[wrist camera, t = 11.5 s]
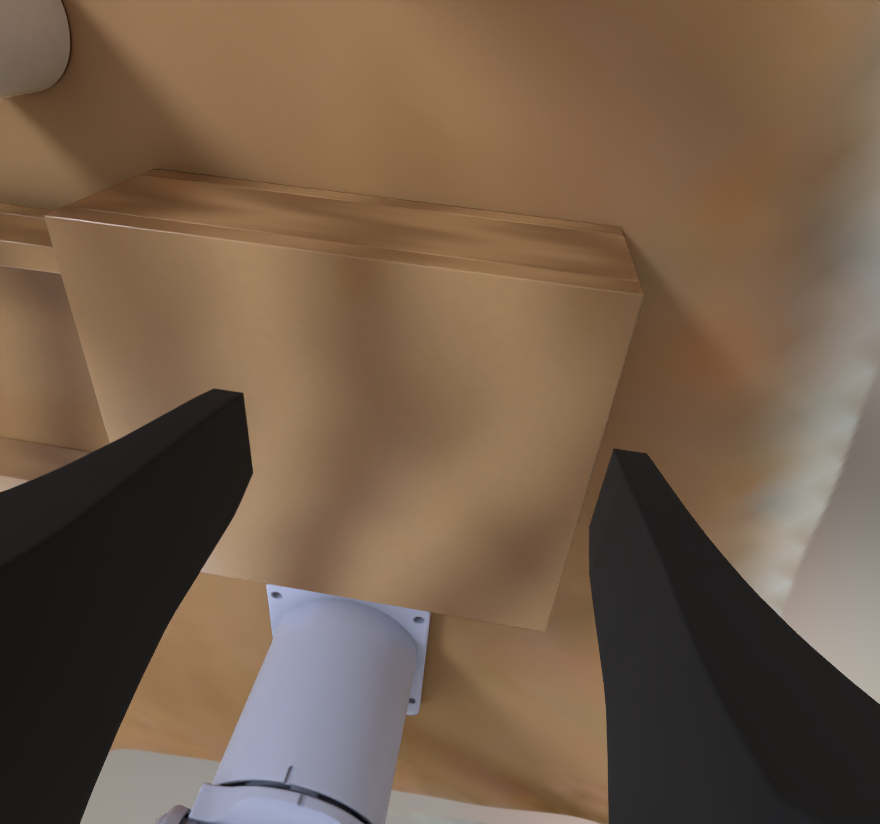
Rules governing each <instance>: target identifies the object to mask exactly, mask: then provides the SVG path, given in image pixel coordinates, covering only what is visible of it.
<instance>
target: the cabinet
mask: <svg viewBox="0 0 880 824" xmlns="http://www.w3.org/2000/svg"><path fill="white" fill-rule="evenodd" d="M44 218H45V221H46V225H47V228H48V232H49V235H50V238H51V242H52V245H53V249H54V252H55V256H56V259H57V263H58V266H59V269H60V273H61V276H62V280H63V283H64V287H65V290H66V294H67V297H68V300H69V304H70V307H71V311H72V314H73V318H74V321H75V325H76V328H77V331H78V335H79V338H80V342H81V345H82V349H83V352H84V356H85V359H86V362H87V366H88V369H89V373H90V376H91V380H92V383H93V387H94V390H95V394H96V397H97V400H98V404H99V407H100V411H101V414H102V418H103V421H104V425H105V428H106V431H107V435H108V438H109V442H110V443H112V442H114V441H116V440H118V439H120V438H122V437H123V436H125V435H127V434H129V433H131V432H133V431H135V430H136V429H138V428H140V427H142V426H144V425H146V424H147V423H149V422H151V421H153V420H155V419H157V418H158V417H160V416H162V415H164V414H166V413H167V412H169V411H171V410H173V409H175V408H177V407H178V406H180V405H182V404H184V403H186V402H188V401H189V400H191V399H193V398H195V397H197V396H199V395H201V394H203V393H205V392H207V391H209V390H211V389H213V388H215V389H221V390H228V391H235V392H241V393H244V401H245V410H246V418H247V426H248V434H249V442H250V450H251V458H252V466H253V475H252V477H251V480H250V482H249V484H248V487H247V489H246V491H245V494H244V496H243V498H242V501H241V503H240V505H239V507H238V509H237V511H236V514H235V516H234V517H233V519H232V521H231V522H230V524H229V526H228V527H227V529H226V531H225V532H224V534H223V536H222V537H221V539H220V541H219V542H218V544H217V545H216V547H215V549H214V550H213V552H212V554H211V555H210V557H209V558H208V560H207V562H206V563H205V565H204V566H203V568H202V570H201V571H200V572H202V573H207V574H213V575H219V576H225V577H230V578H236V579H242V580H248V581H254V582H259V583H265V584H271V585H277V586H282V587H288V588H294V589H300V590H305V591H311V592H317V593H323V594H329V595H334V596H340V597H346V598H352V599H357V600H363V601H369V602H375V603H381V604H386V605H392V606H398V607H404V608H409V609H415V610H421V611H427V612H433V613H438V614H444V615H450V616H456V617H461V618H467V619H473V620H479V621H485V622H490V623H496V624H502V625H508V626H513V627H519V628H525V629H531V630H536V631H542V632H545V630H546V627H547V624H548V620H549V617H550V613H551V610H552V607H553V603H554V600H555V597H556V593H557V590H558V586H559V583H560V580H561V576H562V573H563V569H564V566H565V563H566V559H567V556H568V553H569V549H570V546H571V542H572V539H573V536H574V532H575V529H576V526H577V522H578V519H579V515H580V512H581V509H582V505H583V502H584V498H585V495H586V492H587V488H588V485H589V482H590V478H591V475H592V471H593V468H594V465H595V461H596V458H597V454H598V451H599V448H600V444H601V441H602V438H603V434H604V431H605V427H606V424H607V421H608V417H609V414H610V411H611V407H612V404H613V400H614V397H615V394H616V390H617V387H618V383H619V380H620V377H621V373H622V370H623V367H624V363H625V360H626V356H627V353H628V350H629V346H630V343H631V339H632V336H633V333H634V329H635V326H636V323H637V319H638V316H639V312H640V309H641V306H642V302H643V299H644V292H643V289H642V287H641V284H640V281H639V278H638V275H637V272H636V269H635V266H634V264H633V261H632V258H631V255H630V252H629V249H628V246H627V243H626V240H625V238H624V235H623V232H622V229H621V227H615V226H607V225H599V224H591V223H583V222H575V221H567V220H558V219H550V218H542V217H534V216H526V215H518V214H510V213H502V212H494V211H486V210H478V209H470V208H462V207H454V206H446V205H438V204H430V203H422V202H414V201H406V200H398V199H390V198H382V197H374V196H366V195H358V194H350V193H342V192H334V191H326V190H318V189H310V188H302V187H294V186H286V185H278V184H270V183H262V182H254V181H246V180H238V179H230V178H222V177H214V176H206V175H198V174H190V173H182V172H174V171H166V170H158V169H153V170H150V171H148V172H146V173H143V174H141V175H139V176H136V177H134V178H131V179H129V180H127V181H124V182H122V183H120V184H117V185H115V186H112V187H110V188H108V189H105V190H103V191H101V192H98V193H96V194H94V195H91V196H89V197H86V198H84V199H82V200H79V201H77V202H75V203H72V204H70V205H67V206H66V207H63V208H60V209H58V210H56V211H53V212H51V213H48V214H46V215H44Z"/></svg>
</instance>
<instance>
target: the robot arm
mask: <svg viewBox="0 0 880 824" xmlns="http://www.w3.org/2000/svg"><path fill="white" fill-rule="evenodd" d="M252 475H253V466H252V458H251V450H250V442H249V434H248V426H247V418H246V410H245V401H244V393H241V392H235V391H228V390H221V389H215V388H213V389H211V390H209V391H207V392H205V393H203V394H201V395H199V396H197V397H195V398H193V399H191V400H189V401H188V402H186V403H184V404H182V405H180V406H178V407H177V408H175V409H173V410H171V411H169V412H167V413H166V414H164V415H162V416H160V417H158V418H157V419H155V420H153V421H151V422H149V423H147V424H146V425H144V426H142V427H140V428H138V429H136V430H135V431H133V432H131V433H129V434H127V435H125V436H123V437H122V438H120V439H118V440H116V441H114V442H112V443H110V444H108V445H106V446H104V447H102V448H99V449H97V450H95V451H93V452H91V453H89V454H87V455H85V456H83V457H81V458H79V459H77V460H75V461H73V462H71V463H69V464H67V465H65V466H63V467H60V468H58V469H56V470H54V471H52V472H49V473H47V474H45V475H42V476H40V477H38V478H35V479H33V480H30V481H28V482H25V483H23V484H20V485H18V486H15V487H13V488H11V489H8V490H6V491H3V492H0V824H80V821H81V819H82V817H83V814H84V811H85V809H86V806H87V804H88V801H89V798H90V796H91V793H92V791H93V788H94V786H95V783H96V781H97V779H98V776H99V774H100V772H101V769H102V767H103V764H104V762H105V760H106V757H107V755H108V753H109V750H110V748H111V746H112V743H113V741H114V738H115V736H116V734H117V731H118V729H119V727H120V725H121V722H122V720H123V718H124V716H125V714H126V711H127V709H128V707H129V705H130V703H131V700H132V698H133V696H134V694H135V692H136V689H137V687H138V685H139V683H140V681H141V678H142V676H143V674H144V672H145V670H146V668H147V666H148V664H149V662H150V660H151V658H152V656H153V654H154V652H155V650H156V648H157V645H158V643H159V641H160V639H161V637H162V635H163V633H164V631H165V629H166V627H167V626H168V624H169V622H170V620H171V619H172V617H173V615H174V613H175V611H176V610H177V608H178V606H179V605H180V603H181V602H182V600H183V598H184V597H185V595H186V594H187V592H188V590H189V589H190V587H191V586H192V584H193V582H194V581H195V579H196V578H197V576H198V574H199V573H200V571H201V570H202V568H203V566H204V565H205V563H206V562H207V560H208V558H209V557H210V555H211V554H212V552H213V550H214V549H215V547H216V545H217V544H218V542H219V541H220V539H221V537H222V536H223V534H224V532H225V531H226V529H227V527H228V526H229V524H230V522H231V521H232V519H233V517H234V516H235V514H236V511H237V509H238V507H239V505H240V503H241V501H242V498H243V496H244V494H245V491H246V489H247V487H248V484H249V482H250V480H251V477H252ZM589 575H590V583H591V591H592V599H593V607H594V615H595V622H596V630H597V637H598V644H599V652H600V659H601V667H602V674H603V682H604V691H605V702H606V720H607V752H608V801H609V824H880V704H879V703H877V702H876V701H875V700H874V699H872V698H871V697H870V696H868V694H866V693H865V692H864V691H863V690H861V689H860V688H859V687H858V686H856V685H855V684H854V683H853V682H852V681H850V680H849V679H848V678H847V677H846V676H844V675H843V674H842V673H841V672H840V671H838V669H836V668H835V667H834V666H833V665H832V664H831V663H830V662H828V661H827V660H826V659H825V658H824V657H823V656H822V655H820V654H819V653H818V652H817V651H816V650H815V649H813V648H812V647H811V646H810V645H809V644H808V643H807V642H806V641H805V640H804V639H803V638H801V637H800V636H799V635H798V634H797V633H796V632H795V631H794V630H793V629H792V628H791V627H790V626H789V625H788V624H787V623H786V622H785V621H784V620H783V619H782V618H781V617H780V616H779V615H778V614H777V613H776V612H775V611H774V610H773V609H772V608H771V607H770V606H769V605H768V604H767V603H766V602H765V601H764V600H763V599H762V598H761V597H760V596H759V595H758V594H757V593H756V592H755V591H754V590H753V589H752V588H751V587H750V586H749V584H748V583H747V582H746V581H745V580H744V579H743V578H742V577H741V576H740V574H739V573H738V572H737V571H736V570H735V569H734V567H733V566H732V565H731V564H730V563H729V562H728V561H727V559H726V558H725V557H724V556H723V555H722V554H721V553H720V551H719V550H718V549H717V548H716V546H715V545H714V544H713V543H712V541H711V540H710V539H709V538H708V537H707V535H706V534H705V533H704V531H703V530H702V529H701V528H700V526H699V525H698V524H697V522H696V521H695V520H694V518H693V517H692V516H691V515H690V513H689V512H688V510H687V509H686V508H685V506H684V505H683V504H682V502H681V501H680V499H679V498H678V497H677V495H676V494H675V493H674V491H673V490H672V488H671V487H670V486H669V484H668V483H667V481H666V480H665V478H664V477H663V476H662V474H661V473H660V471H659V470H658V469H657V467H656V466H655V464H654V463H653V461H652V460H651V459H650V457H649V456H648V455H647V453H640V452H633V451H627V450H620V449H613V453H612V456H611V459H610V462H609V465H608V469H607V472H606V475H605V478H604V481H603V485H602V488H601V491H600V494H599V497H598V501H597V504H596V507H595V510H594V513H593V516H592V520H591V523H590V526H589ZM266 587H267V595H268V603H269V611H270V619H271V627H272V635H273V641H272V643H271V645H270V648H269V650H268V653H267V655H266V657H265V660H264V662H263V664H262V667H261V669H260V671H259V674H258V676H257V678H256V681H255V683H254V685H253V688H252V690H251V692H250V695H249V697H248V699H247V702H246V704H245V706H244V709H243V711H242V714H241V716H240V718H239V721H238V723H237V725H236V728H235V730H234V732H233V735H232V737H231V739H230V742H229V744H228V746H227V749H226V751H225V753H224V756H223V758H222V760H221V763H220V765H219V767H218V770H217V773H216V775H215V777H214V779H213V782H212V784H210V783H203V785H202V787H201V789H200V791H199V793H198V796H197V798H196V800H195V803H194V805H193V807H192V809H191V810H190V809H189V808H186V807H184V806H182V805H177V806H174V807H173V808H172V809H171V810H170V811H169V812H168V813H166V814H164V815H163V816H161V817H159V818H158V819H156V820H155V821H154V822H153V823H152V824H385V821H386V816H387V810H388V805H389V800H390V794H391V790H392V785H393V779H394V774H395V769H396V764H397V759H398V754H399V748H400V743H401V738H402V733H403V728H404V723H405V718H406V714H407V715H416V714H418V712H419V709H420V701H421V693H422V684H423V676H424V667H425V658H426V650H427V641H428V633H429V624H430V615H431V612H427V611H421V610H415V609H409V608H404V607H398V606H392V605H386V604H381V603H375V602H369V601H363V600H357V599H352V598H346V597H340V596H334V595H329V594H323V593H317V592H311V591H305V590H300V589H294V588H288V587H282V586H277V585H271V584H267V586H266Z"/></svg>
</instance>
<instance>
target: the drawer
mask: <svg viewBox="0 0 880 824" xmlns="http://www.w3.org/2000/svg"><path fill="white" fill-rule="evenodd" d="M51 212H53V210H46V209H38V208H31V207H23V206H15V205H8V204H0V490H3V491H6V490H8V489H11V488H13V487H15V486H18V485H20V484H23V483H25V482H28V481H30V480H33V479H35V478H38V477H40V476H42V475H45V474H47V473H49V472H52V471H54V470H56V469H58V468H60V467H63V466H65V465H67V464H69V463H71V462H73V461H75V460H77V459H79V458H81V457H83V456H85V455H87V454H89V453H91V452H93V451H95V450H97V449H99V448H102V447H104V446H106V445H108V444H110V442H109V438H108V435H107V431H106V428H105V425H104V421H103V418H102V414H101V411H100V407H99V404H98V400H97V397H96V394H95V390H94V387H93V383H92V380H91V376H90V373H89V369H88V366H87V362H86V359H85V356H84V352H83V349H82V345H81V342H80V338H79V335H78V331H77V328H76V325H75V321H74V318H73V314H72V311H71V307H70V304H69V300H68V297H67V294H66V290H65V287H64V283H63V280H62V276H61V273H60V269H59V266H58V263H57V259H56V256H55V252H54V249H53V245H52V242H51V238H50V235H49V232H48V228H47V225H46V221H45V218H44V215H46V214H48V213H51Z"/></svg>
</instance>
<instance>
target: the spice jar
mask: <svg viewBox="0 0 880 824" xmlns="http://www.w3.org/2000/svg"><path fill="white" fill-rule="evenodd" d="M69 54H70V31H69V25H68V20H67V16H66V13H65V9H64V7H63V4H62V1H61V0H0V99H4V98H10V97H15V96H21V95H27V94H33V93H38V92H41V91H44V90H46V89H48V88H50V87H52V86H53V85H54V84H55V83H56V82H57V81H58V80H59V79H60V77H61V76H62V74H63V72H64V71H65V69H66V66H67V63H68V59H69Z"/></svg>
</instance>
